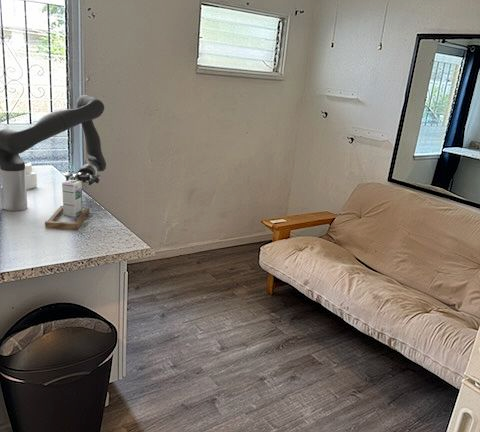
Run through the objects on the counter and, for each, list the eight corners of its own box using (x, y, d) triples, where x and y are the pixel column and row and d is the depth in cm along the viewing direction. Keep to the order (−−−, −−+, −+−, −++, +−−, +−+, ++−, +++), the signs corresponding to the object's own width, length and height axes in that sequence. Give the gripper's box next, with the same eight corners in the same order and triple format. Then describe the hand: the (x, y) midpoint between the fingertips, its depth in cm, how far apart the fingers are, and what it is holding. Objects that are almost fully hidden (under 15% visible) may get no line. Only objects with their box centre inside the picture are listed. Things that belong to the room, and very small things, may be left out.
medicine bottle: (14, 187, 214) (12, 163, 210) (26, 184, 220) (25, 160, 217) (25, 190, 212) (24, 165, 208) (37, 187, 218) (36, 163, 214)
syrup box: (75, 217, 186) (74, 184, 181) (62, 215, 187) (61, 182, 182) (82, 213, 191) (82, 181, 186) (70, 211, 192) (69, 178, 187)
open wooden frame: (45, 228, 172) (45, 222, 171) (61, 210, 192) (60, 204, 191) (83, 230, 174) (82, 224, 173) (94, 212, 194) (94, 206, 193)
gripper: (72, 164, 209) (62, 173, 194) (103, 166, 211) (95, 175, 196) (72, 179, 212) (63, 189, 197) (103, 181, 213) (96, 191, 198)
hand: (79, 182), depth 196 cm, fingers open, 8 cm apart
